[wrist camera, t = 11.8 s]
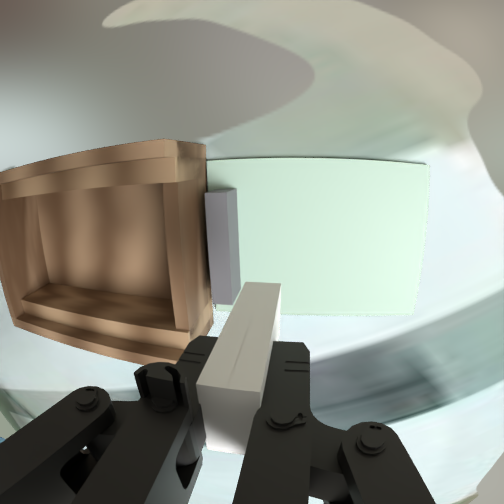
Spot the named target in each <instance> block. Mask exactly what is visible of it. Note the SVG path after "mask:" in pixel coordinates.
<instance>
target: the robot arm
mask: <svg viewBox="0 0 504 504" xmlns="http://www.w3.org/2000/svg"><path fill="white" fill-rule="evenodd" d="M280 304H281V283H264V282H245V284H244V286H243V288H242V290H241V292H240V294H239V296H238V298H237V300H236V302H235V304H234V306H233V309H232V311H231V313H230V315H229V317H228V319H227V321H226V323H225V325H224V327H223V329H222V331H221V333H220V335H219V337H210V336H201V335H199V336H198V337H196V338H195V339H194V340H192V341H191V342H189V343H188V345H187V347H186V348H185V350H184V351H183V353H182V355H181V356H180V358H179V361H177V363H176V364H172V363H169V362H155V363H149V364H147V365H144V366H142V367H140V368H139V369H138V370H136V371H135V372H134V376H135V380H136V383H137V387H138V390H139V393H140V396H141V398H140V399H139V401H111V399H110V396H109V394H108V393H107V392H106V391H105V390H104V389H102V388H99V387H96V386H87V387H82V388H79V389H77V390H75V391H73V392H72V393H70V394H69V395H67V396H66V397H65V398H63V399H62V400H60V401H59V402H58V403H56V404H55V405H53V406H52V407H51V408H49V409H48V410H47V411H45V412H44V413H42V414H41V415H40V416H38V417H37V418H35V419H34V420H32V421H31V422H30V423H28V424H27V425H25V426H24V427H23V428H21V429H20V430H18V431H17V432H16V433H14V434H13V435H11V436H10V437H9V438H7V439H6V440H5V439H4V438H2V437H0V504H188V501H189V499H190V496H191V493H192V491H193V488H194V485H195V482H196V480H197V477H198V474H199V471H200V469H201V466H202V460H203V457H202V453H201V451H202V448H203V445H204V443H205V440H206V445H207V449H209V450H214V451H220V452H227V453H233V454H241V455H245V456H244V460H243V464H242V468H241V472H240V476H239V480H238V484H237V488H236V491H235V495H234V499H233V503H232V504H308V498H309V496H311V497H315V498H318V499H322V500H323V502H324V504H436V503H435V501H434V499H433V497H432V496H431V494H430V492H429V490H428V488H427V486H426V485H425V483H424V481H423V479H422V477H421V476H420V474H419V472H418V470H417V468H416V467H415V465H414V463H413V461H412V460H411V458H410V456H409V454H408V453H407V451H406V449H405V447H404V446H403V444H402V442H401V440H400V439H399V437H398V435H397V434H396V433H395V432H394V431H393V430H392V428H390V427H388V426H386V425H384V424H382V423H377V422H361V423H359V424H356V425H354V426H352V427H351V428H350V429H348V430H347V431H345V430H341V429H337V428H333V427H330V426H327V425H325V424H323V423H321V422H320V421H318V420H317V419H316V418H315V417H314V416H313V414H312V412H311V410H310V351H309V350H308V349H307V347H306V346H305V344H304V343H303V342H283V341H279V330H280ZM85 446H86V447H87V449H85V450H82V449H83V448H84V447H85Z"/></svg>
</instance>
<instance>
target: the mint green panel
mask: <svg viewBox="0 0 504 504" xmlns="http://www.w3.org/2000/svg"><path fill="white" fill-rule="evenodd" d="M429 179H430V165H423V164H413V163H402V162H390V161H376V160H359V159H335V158H254V159H229V160H212V161H207V181H208V192H207V193H205V208H206V224H207V239H208V253H209V266H210V279H211V290H212V302H213V304H216V311H226V312H231V311H232V309H233V306H234V304H235V302H236V300H237V298H238V296H239V294H240V292H241V290H242V288H243V286H244V284H245V282H264V283H281V304H280V314H283V315H316V316H396V315H413V314H414V309H415V304H416V299H417V293H418V288H419V282H420V276H421V269H422V263H423V255H424V247H425V239H426V229H427V217H428V203H429Z"/></svg>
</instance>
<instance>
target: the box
mask: <svg viewBox="0 0 504 504" xmlns="http://www.w3.org/2000/svg"><path fill="white" fill-rule="evenodd" d="M205 193H207V184H206V145H203V144H196V143H190V142H184V141H177V140H170V139H157V140H149V141H142V142H134V143H128V144H121V145H115V146H109V147H103V148H97V149H93V150H87V151H82V152H77V153H72V154H68V155H64V156H59V157H54V158H50V159H46V160H43V161H38V162H34V163H31V164H27V165H23V166H20V167H16V168H13V169H10V170H6V171H3V172H0V280H1V283H2V287H3V291H4V295H5V298H6V302H7V305H8V308H9V312H10V315H11V318H12V321H13V324H14V326H16V327H19V328H21V329H24V330H27V331H29V332H32V333H35V334H37V335H40V336H43V337H46V338H49V339H52V340H55V341H58V342H61V343H64V344H67V345H70V346H73V347H76V348H80V349H83V350H87V351H90V352H94V353H97V354H101V355H104V356H108V357H112V358H116V359H120V360H124V361H128V362H132V363H137V364H141V365H147V364H149V363H155V362H169V363H172V364H176V363H177V361H179V358H180V356H181V355H182V353H183V351H184V350H185V348H186V347H187V345H188V343H189V342H191V341H192V340H194V339H195V338H196V337H198V336H199V335H201V336H207V334H208V332H209V331H210V329H211V327H212V325H213V323H214V322H213V308H212V293H211V279H210V266H209V253H208V239H207V224H206V208H205Z"/></svg>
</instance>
